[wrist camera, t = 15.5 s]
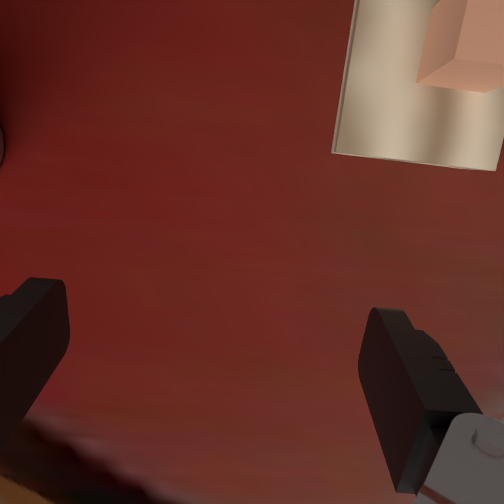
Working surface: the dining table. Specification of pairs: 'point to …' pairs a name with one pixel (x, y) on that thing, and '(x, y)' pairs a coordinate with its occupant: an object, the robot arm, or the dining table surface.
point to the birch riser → (409, 96)
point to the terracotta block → (464, 46)
